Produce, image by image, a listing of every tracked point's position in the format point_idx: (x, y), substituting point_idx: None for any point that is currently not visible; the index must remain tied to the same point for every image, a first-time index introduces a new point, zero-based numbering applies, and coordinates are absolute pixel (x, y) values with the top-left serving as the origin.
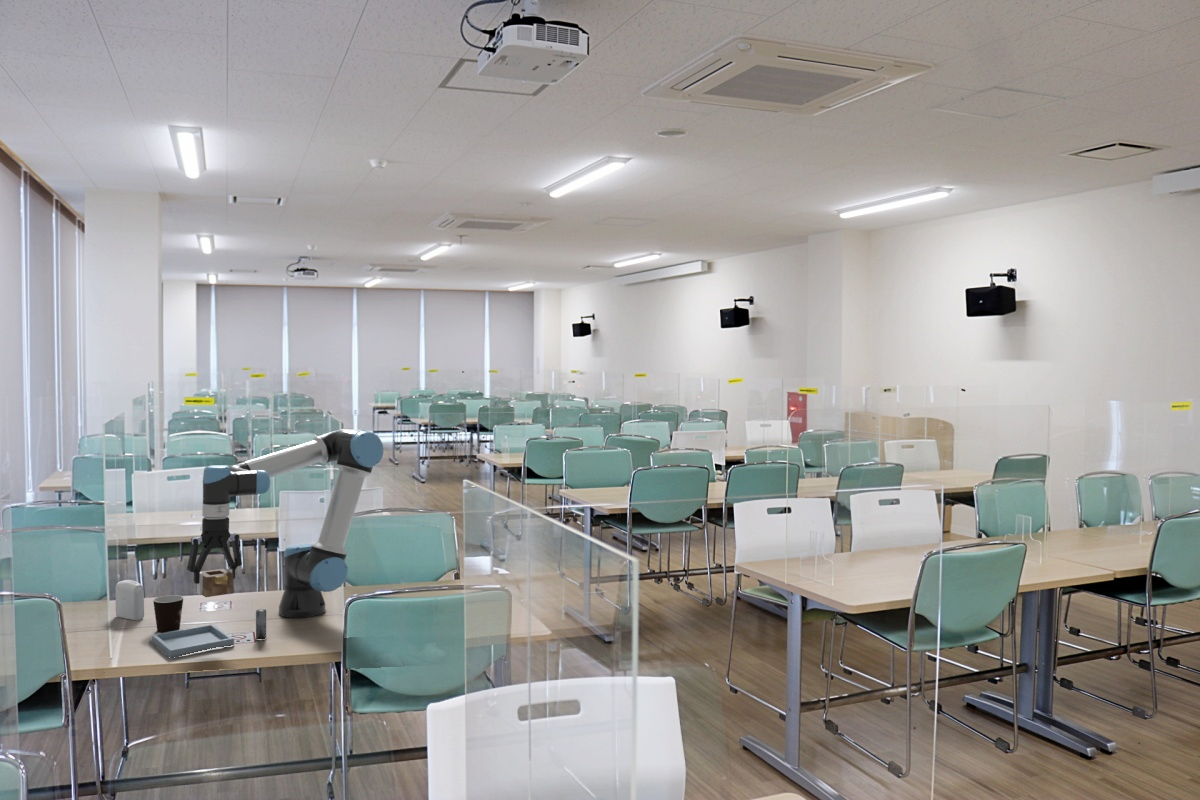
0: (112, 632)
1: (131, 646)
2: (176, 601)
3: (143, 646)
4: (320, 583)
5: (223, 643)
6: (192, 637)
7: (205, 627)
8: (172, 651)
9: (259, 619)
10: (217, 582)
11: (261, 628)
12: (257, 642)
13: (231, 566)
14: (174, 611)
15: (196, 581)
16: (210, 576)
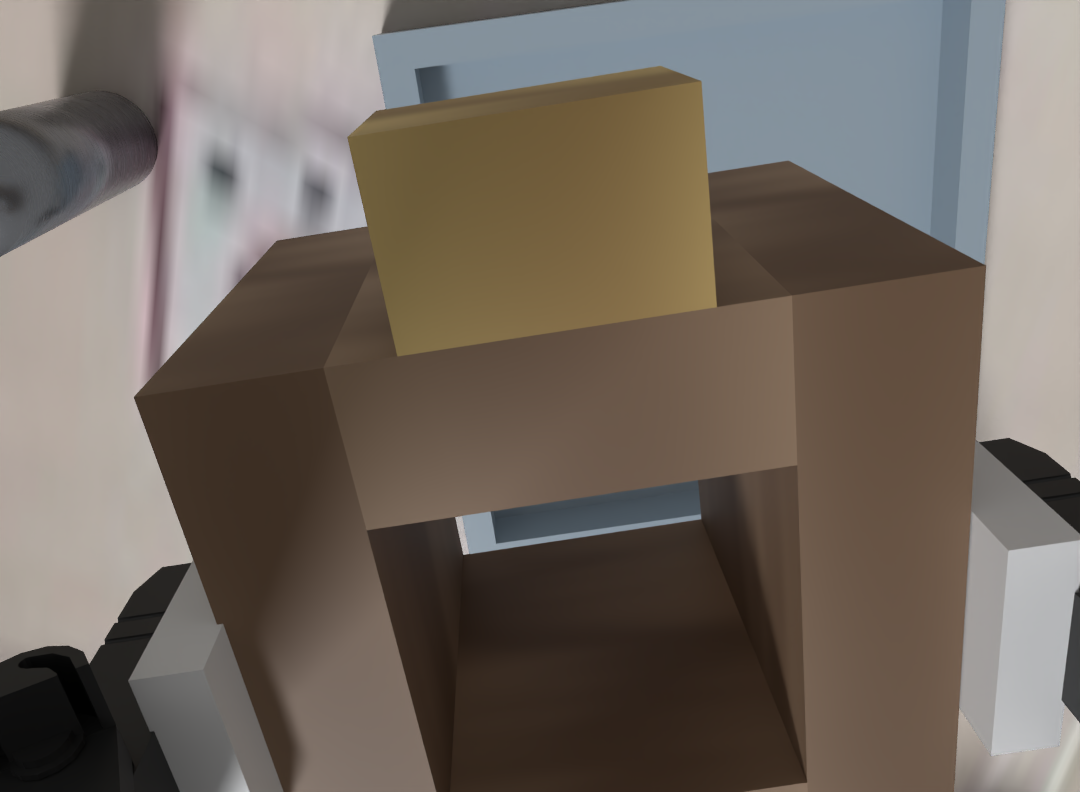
0: (1045, 778)
1: (1071, 453)
2: None
3: (1006, 415)
4: None
5: (481, 20)
6: None
7: (540, 530)
8: None
9: (25, 123)
10: (660, 73)
11: (51, 102)
12: (148, 54)
13: (117, 761)
14: None
15: (1029, 463)
16: (838, 323)
